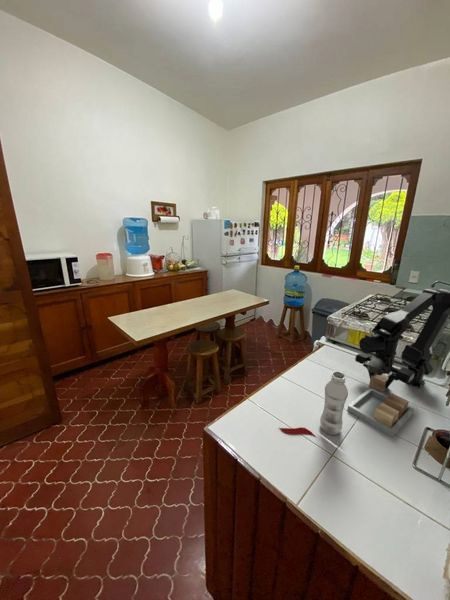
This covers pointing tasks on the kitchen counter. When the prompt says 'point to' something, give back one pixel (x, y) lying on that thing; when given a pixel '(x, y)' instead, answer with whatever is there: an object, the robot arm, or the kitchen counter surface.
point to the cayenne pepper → (296, 431)
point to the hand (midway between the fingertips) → (378, 384)
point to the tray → (367, 406)
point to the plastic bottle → (334, 404)
